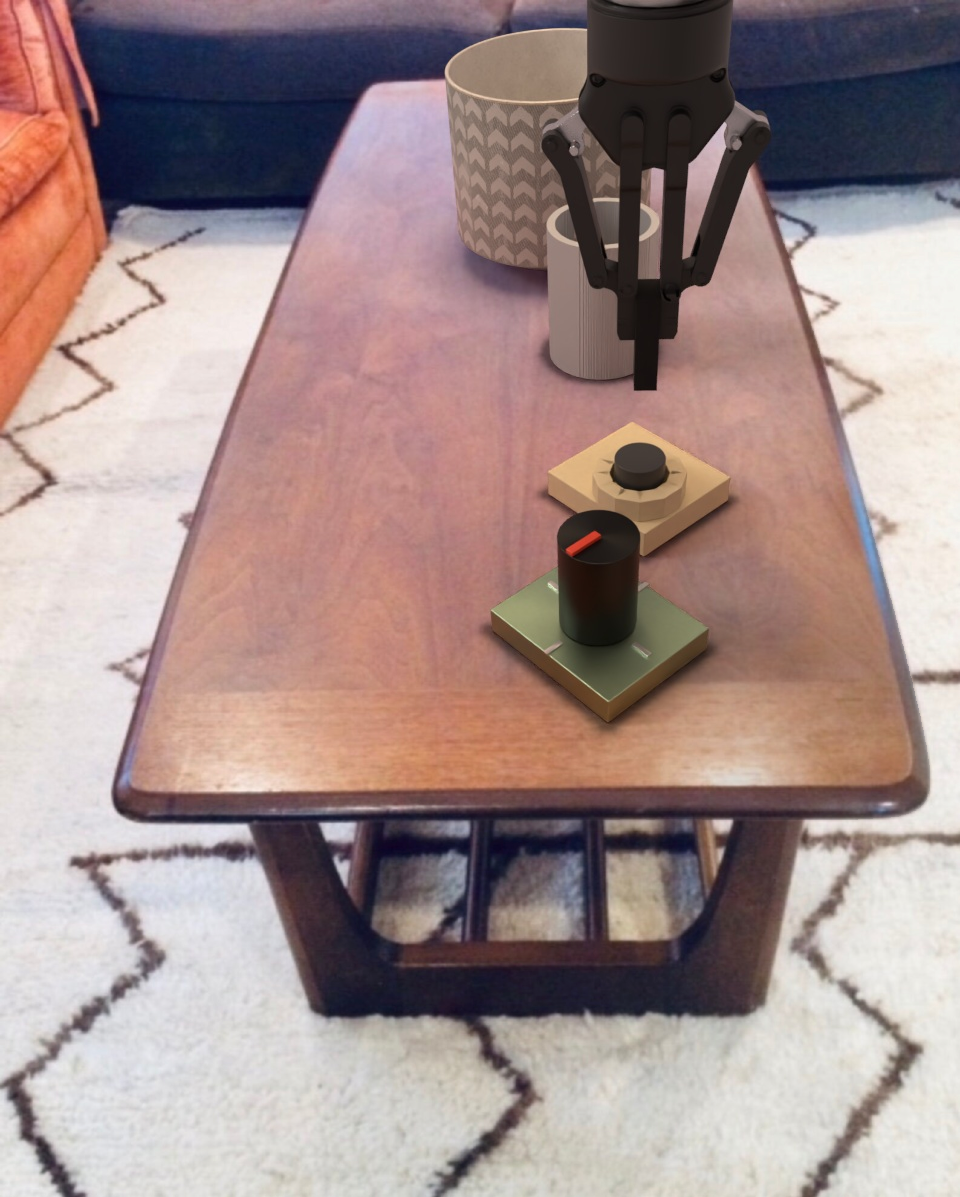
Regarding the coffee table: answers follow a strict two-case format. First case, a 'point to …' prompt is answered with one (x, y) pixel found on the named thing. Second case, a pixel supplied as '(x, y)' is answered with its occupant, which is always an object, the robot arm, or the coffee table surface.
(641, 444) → the button
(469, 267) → the coffee table surface
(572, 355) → the cup
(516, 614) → the dial panel
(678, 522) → the button box
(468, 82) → the planter
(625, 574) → the knob
